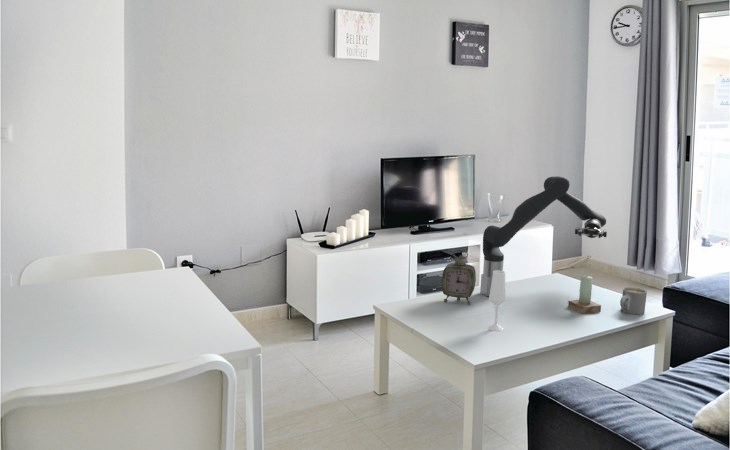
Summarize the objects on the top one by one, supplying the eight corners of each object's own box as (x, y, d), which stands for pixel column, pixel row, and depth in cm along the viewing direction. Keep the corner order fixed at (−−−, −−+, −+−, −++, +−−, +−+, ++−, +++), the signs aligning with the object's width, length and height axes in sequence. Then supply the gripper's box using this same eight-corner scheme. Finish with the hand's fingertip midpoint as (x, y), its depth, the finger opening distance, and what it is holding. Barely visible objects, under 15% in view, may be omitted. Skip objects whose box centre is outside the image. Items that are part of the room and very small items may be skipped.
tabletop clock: (440, 303, 305) (443, 250, 300) (444, 297, 314) (446, 245, 309) (472, 306, 301) (475, 253, 296) (474, 301, 310) (478, 248, 305)
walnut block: (582, 313, 295) (583, 307, 295) (567, 307, 304) (568, 300, 304) (600, 311, 299) (601, 305, 298) (585, 305, 308) (586, 298, 307)
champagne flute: (507, 329, 273) (511, 272, 268) (495, 332, 269) (499, 274, 264) (495, 324, 278) (498, 268, 274) (483, 327, 274) (487, 271, 270)
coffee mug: (633, 307, 307) (635, 286, 305) (649, 313, 298) (651, 292, 296) (609, 309, 302) (612, 288, 301) (625, 316, 293) (627, 294, 291)
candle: (584, 305, 298) (586, 277, 295) (576, 301, 302) (578, 274, 300) (592, 303, 300) (595, 276, 297) (585, 300, 304) (587, 273, 302)
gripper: (578, 219, 325) (574, 225, 310) (608, 222, 320) (606, 228, 305) (576, 234, 326) (573, 241, 312) (607, 238, 321) (605, 244, 306)
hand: (589, 234), depth 308 cm, fingers open, 8 cm apart
